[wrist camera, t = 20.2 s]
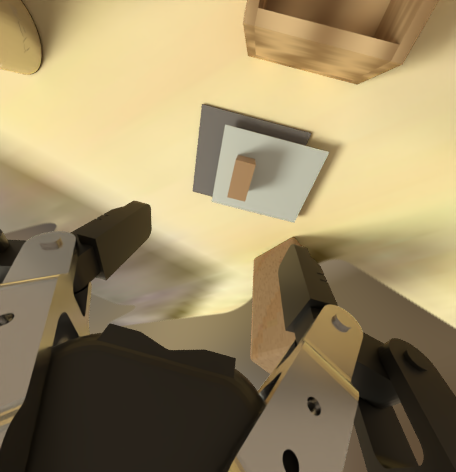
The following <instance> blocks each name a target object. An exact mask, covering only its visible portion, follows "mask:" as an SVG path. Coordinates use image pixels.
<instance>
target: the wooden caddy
mask: <svg viewBox="0 0 456 472" xmlns="http://www.w3.org/2000/svg"><path fill="white" fill-rule="evenodd" d="M438 1H439V0H247V4H246V10H245V15H244V21H243V25H244V32H245V39H246V45H247V52H248V56H251V57H255V58H259V59H263V60H266V61H270V62H274V63H278V64H282V65H285V66H289V67H293V68H297V69H301V70H304V71H308V72H312V73H316V74H320V75H323V76H327V77H331V78H335V79H339V80H342V81H346V82H350V83H354V84H359V83H361V82H364V81H366V80H368V79H370V78H373V77H375V76H377V75H379V74H382V73H384V72H386V71H389V70H391V69H393V68H395V67H398V66H400V65H402V64H403V62H404V61H405V59H406V57H407V55H408V53H409V52H410V50H411V48H412V46H413V45H414V43H415V41H416V39H417V38H418V36H419V34H420V32H421V31H422V29H423V27H424V25H425V24H426V22H427V20H428V18H429V17H430V15H431V13H432V11H433V10H434V8H435V6H436V4H437V2H438Z"/></svg>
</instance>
